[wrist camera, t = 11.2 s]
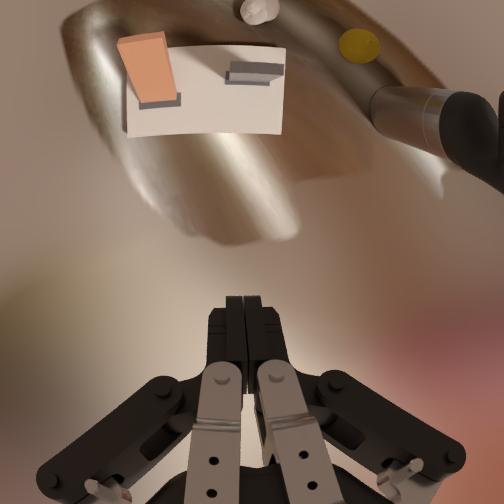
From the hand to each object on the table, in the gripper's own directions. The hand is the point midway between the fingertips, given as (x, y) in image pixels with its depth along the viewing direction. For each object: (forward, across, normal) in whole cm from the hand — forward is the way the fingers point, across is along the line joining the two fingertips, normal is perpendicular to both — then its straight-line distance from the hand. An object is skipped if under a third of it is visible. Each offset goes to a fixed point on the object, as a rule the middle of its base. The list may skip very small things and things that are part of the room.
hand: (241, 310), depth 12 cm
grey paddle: (+31, -2, -12) cm, 33 cm away
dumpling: (+33, -3, -24) cm, 41 cm away
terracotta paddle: (+31, +10, -9) cm, 34 cm away
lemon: (+33, -17, -19) cm, 42 cm away
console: (+33, +4, -11) cm, 35 cm away
